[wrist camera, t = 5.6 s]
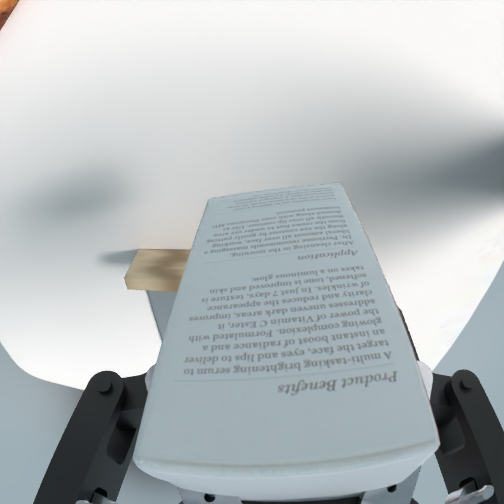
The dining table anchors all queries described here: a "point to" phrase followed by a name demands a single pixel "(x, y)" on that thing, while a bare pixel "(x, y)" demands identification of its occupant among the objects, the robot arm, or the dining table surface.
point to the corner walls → (156, 269)
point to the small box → (285, 359)
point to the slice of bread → (6, 10)
